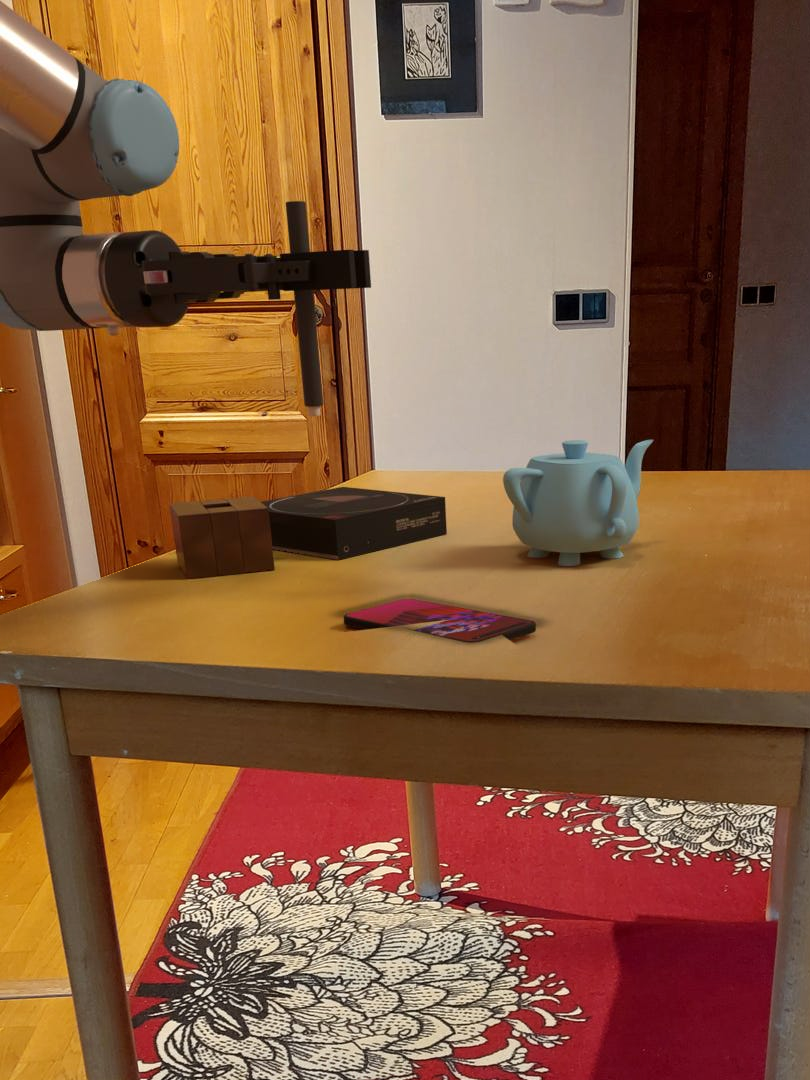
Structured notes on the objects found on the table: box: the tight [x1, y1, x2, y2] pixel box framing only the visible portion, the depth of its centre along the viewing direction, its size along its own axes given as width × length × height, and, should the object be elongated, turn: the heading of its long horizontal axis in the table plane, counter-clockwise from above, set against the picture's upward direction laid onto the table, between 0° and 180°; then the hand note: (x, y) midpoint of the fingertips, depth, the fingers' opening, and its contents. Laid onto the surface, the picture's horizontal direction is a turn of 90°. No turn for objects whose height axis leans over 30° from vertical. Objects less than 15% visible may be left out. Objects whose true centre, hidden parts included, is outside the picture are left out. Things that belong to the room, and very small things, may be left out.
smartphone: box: [343, 598, 537, 644], centre depth 92 cm, size 8×1×15 cm
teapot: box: [502, 439, 654, 567], centre depth 116 cm, size 13×14×11 cm
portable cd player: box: [260, 486, 448, 561], centre depth 129 cm, size 16×17×4 cm
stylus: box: [285, 200, 324, 417], centre depth 96 cm, size 2×2×16 cm
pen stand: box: [168, 495, 276, 580], centre depth 117 cm, size 9×9×6 cm
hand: (359, 269), depth 93 cm, fingers closed on stylus, 1 cm apart
